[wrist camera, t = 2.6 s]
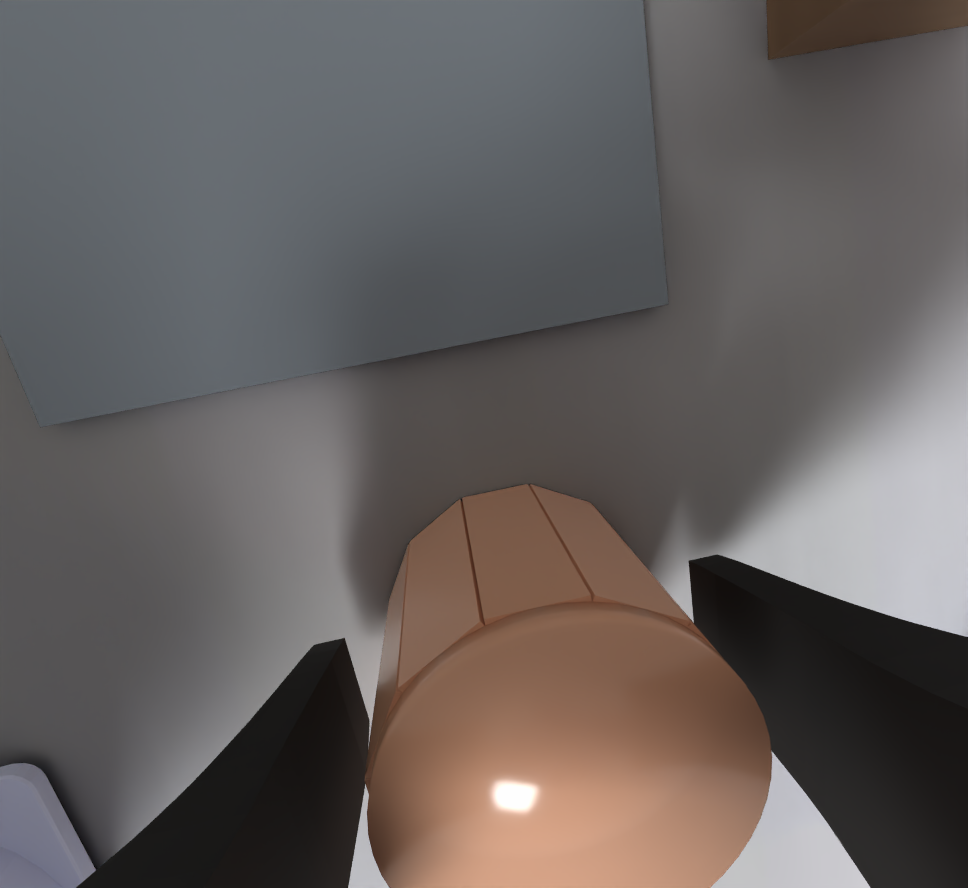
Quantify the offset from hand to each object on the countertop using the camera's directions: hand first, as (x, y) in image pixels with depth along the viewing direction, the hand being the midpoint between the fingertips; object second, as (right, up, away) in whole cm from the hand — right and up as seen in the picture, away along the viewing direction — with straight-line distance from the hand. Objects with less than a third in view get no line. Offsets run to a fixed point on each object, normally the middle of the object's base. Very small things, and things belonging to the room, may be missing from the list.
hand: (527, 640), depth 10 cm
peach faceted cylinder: (0, 0, +1) cm, 1 cm away
